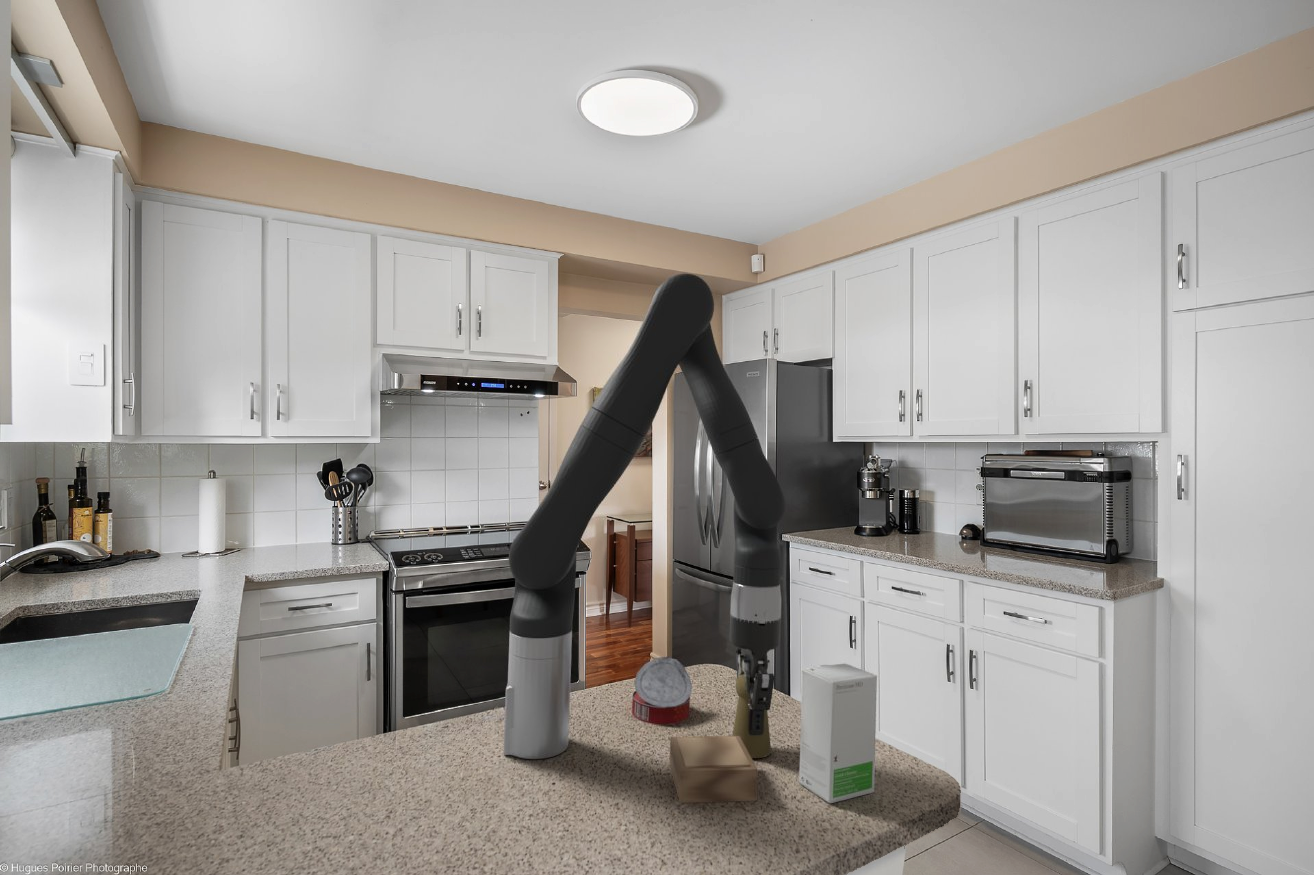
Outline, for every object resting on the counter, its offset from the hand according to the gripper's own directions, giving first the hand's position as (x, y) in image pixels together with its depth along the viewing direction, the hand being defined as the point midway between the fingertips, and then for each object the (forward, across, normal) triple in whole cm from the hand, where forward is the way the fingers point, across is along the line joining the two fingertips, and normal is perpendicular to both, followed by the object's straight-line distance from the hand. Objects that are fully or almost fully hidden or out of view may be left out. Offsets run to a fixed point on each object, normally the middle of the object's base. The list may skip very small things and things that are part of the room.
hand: (751, 727), depth 100 cm
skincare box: (+4, +11, +9) cm, 15 cm away
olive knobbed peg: (+3, 0, 0) cm, 3 cm away
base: (+4, +9, -8) cm, 12 cm away
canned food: (+4, -15, -12) cm, 20 cm away
